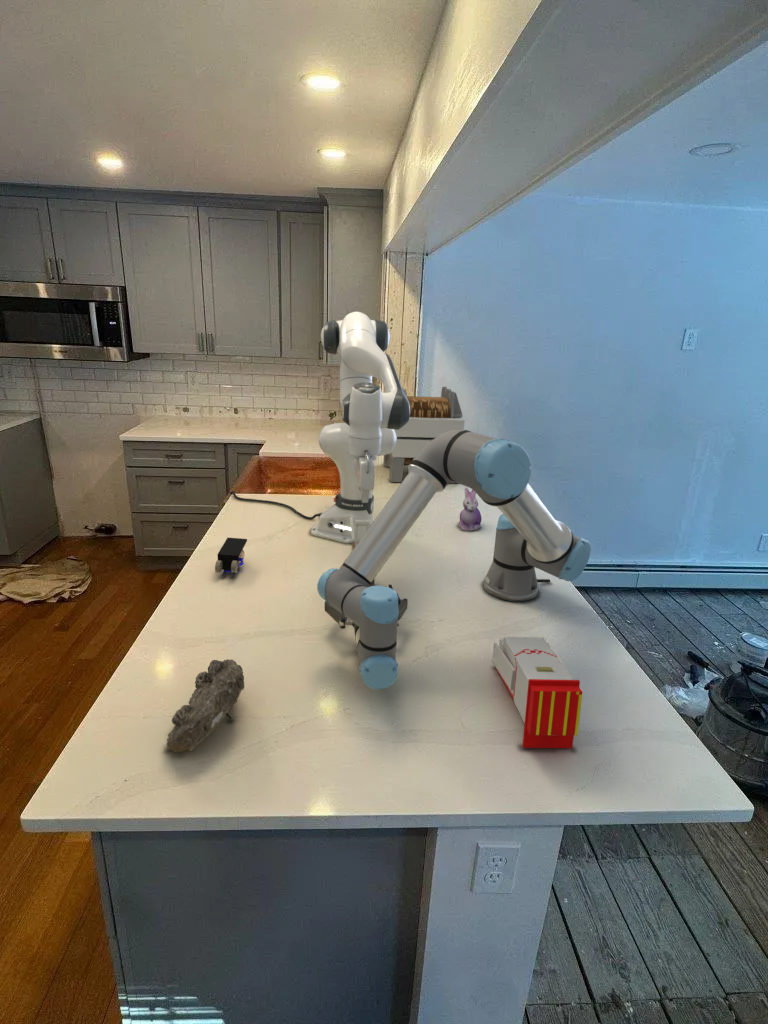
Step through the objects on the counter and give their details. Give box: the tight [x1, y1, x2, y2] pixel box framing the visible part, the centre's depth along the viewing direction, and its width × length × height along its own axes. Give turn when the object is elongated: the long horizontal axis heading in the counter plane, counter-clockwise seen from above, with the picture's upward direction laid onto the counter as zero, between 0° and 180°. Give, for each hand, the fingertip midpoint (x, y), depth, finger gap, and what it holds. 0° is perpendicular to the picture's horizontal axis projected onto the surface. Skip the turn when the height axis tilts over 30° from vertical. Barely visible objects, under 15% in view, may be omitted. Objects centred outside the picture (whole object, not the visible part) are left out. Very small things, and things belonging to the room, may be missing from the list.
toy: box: [491, 636, 583, 749], centre depth 115 cm, size 12×13×30 cm
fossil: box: [166, 658, 245, 754], centre depth 106 cm, size 22×10×15 cm
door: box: [350, 520, 370, 550], centre depth 153 cm, size 15×5×9 cm, turn 7°
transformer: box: [383, 386, 465, 484], centre depth 268 cm, size 34×33×41 cm
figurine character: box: [214, 537, 248, 578], centre depth 166 cm, size 7×8×15 cm
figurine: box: [458, 487, 482, 532], centre depth 206 cm, size 9×10×15 cm
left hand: (363, 496), depth 154 cm, fingers open, 8 cm apart
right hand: (363, 589), depth 145 cm, fingers open, 13 cm apart
